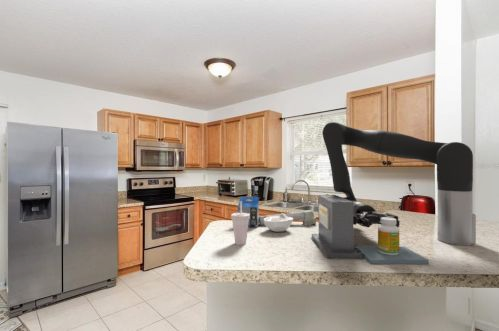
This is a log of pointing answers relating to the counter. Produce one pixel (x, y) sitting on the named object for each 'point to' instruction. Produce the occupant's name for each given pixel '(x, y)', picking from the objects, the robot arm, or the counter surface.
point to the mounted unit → (336, 228)
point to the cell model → (278, 222)
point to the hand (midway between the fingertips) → (383, 224)
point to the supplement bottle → (388, 236)
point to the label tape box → (250, 210)
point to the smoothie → (240, 226)
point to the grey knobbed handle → (296, 217)
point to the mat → (391, 256)
